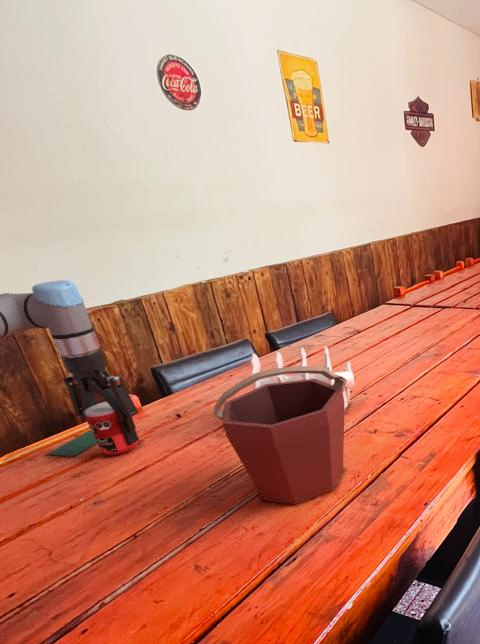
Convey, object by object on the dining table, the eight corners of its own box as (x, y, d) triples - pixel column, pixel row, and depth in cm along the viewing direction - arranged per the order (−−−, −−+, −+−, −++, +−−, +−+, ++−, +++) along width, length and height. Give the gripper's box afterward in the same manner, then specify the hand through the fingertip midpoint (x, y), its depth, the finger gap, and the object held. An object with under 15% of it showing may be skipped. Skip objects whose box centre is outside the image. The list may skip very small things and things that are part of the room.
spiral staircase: (357, 425, 139) (260, 434, 134) (356, 378, 149) (266, 384, 145) (349, 379, 124) (240, 387, 120) (348, 331, 135) (248, 336, 131)
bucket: (363, 448, 119) (344, 346, 108) (359, 503, 99) (336, 384, 88) (253, 463, 115) (223, 359, 104) (227, 523, 96) (186, 402, 85)
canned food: (96, 450, 124) (78, 410, 119) (131, 437, 130) (115, 397, 125) (110, 458, 120) (92, 417, 115) (145, 444, 126) (129, 403, 121)
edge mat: (47, 454, 125) (47, 454, 125) (95, 428, 137) (95, 427, 137) (74, 456, 123) (74, 455, 123) (120, 429, 136) (120, 428, 136)
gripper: (134, 347, 115) (166, 436, 125) (58, 346, 119) (96, 432, 129) (106, 359, 109) (143, 451, 119) (27, 357, 113) (69, 447, 123)
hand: (118, 441), depth 124 cm, fingers closed on canned food, 8 cm apart
